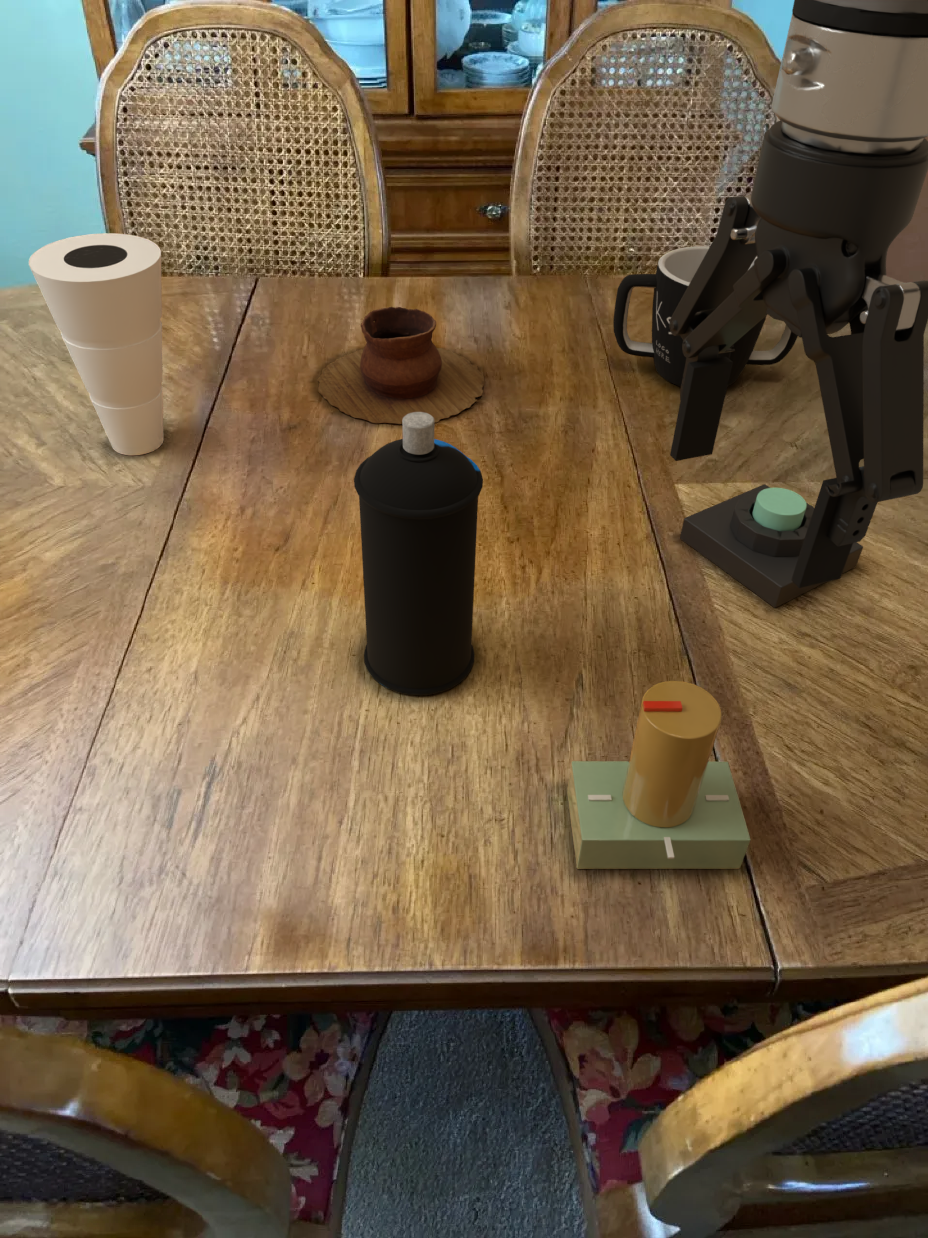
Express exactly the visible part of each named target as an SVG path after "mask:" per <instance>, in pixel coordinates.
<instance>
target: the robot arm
mask: <svg viewBox="0 0 928 1238" xmlns="http://www.w3.org/2000/svg"><path fill="white" fill-rule="evenodd" d="M791 12H792V13H791V18H790V22H789V26H788V30H787V36H786V40H785V43H784V49H783V53H782V57H781V62H780V66H779V71H778V76H777V80H776V83H775V89H774V93H773V98H772V102H771V110H772V112H773V114H774V115H775V116H776V117H777V118H778V121H776V122H774V123H773V124H772V125H771V126H770V128H768V129H767V130H766V131H765V132H764V134H763V139H762V143H761V148H760V152H759V157H758V161H757V167H756V171H755V175H754V181H753V185H752V190H751V194H747V195H746V194H745V195H738V196H729V197H728V198H726V200H725V202H724V206H723V209H722V213H721V217H720V220H719V224H718V227H717V232H716V235H715V236H714V238H713V240H712V242H711V244H710V247H709V249H708V251H707V253H706V255H705V256H704V258H703V260H702V262H701V264H700V266H699V267H698V269H697V271H696V273H695V275H694V277H693V278H692V280H691V282H690V284H689V286H688V288H687V289H686V291H685V293H684V295H683V297H682V298H681V300H680V302H679V304H678V306H677V308H676V309H675V311H674V313H673V315H672V317H671V319H670V323H669V328H670V331H671V333H672V335H674V336H676V335H680V336H681V338H682V339H683V344H682V350H683V354H684V356H685V357H686V363H685V368H684V373H683V379H682V384H681V386H680V390H679V407H678V411H677V412H678V413H677V417H676V423H675V427H674V433H673V438H672V442H671V448H670V453H669V456H670V457H671V458H672V459H673V460H674V462H679V461H683V460H689V459H693V458H700V457H705V456H711V455H713V452H714V447H715V443H716V439H717V435H718V429H719V426H720V421H721V416H722V412H723V408H724V403H725V399H726V394H727V390H728V387H729V386H728V382H729V377H730V373H731V369H732V364H733V362H732V361H731V360H730V359H729V358H727V357H722V358H718V354H719V353H725V352H732V351H735V349H730V347H733V344H734V343H735V342H736V341H738V340H739V339H740V338H741V337H742V336H743V335H745V334H746V333H747V332H748V331H749V330H750V329H751V328H753V327H754V326H755V325H756V324H757V323H758V322H759V321H761V320H762V319H763V318H764V317H765V316H766V315H767V316H769V317H771V318H772V319H773V320H777V321H781V322H784V324H785V326H786V325H787V326H788V328H789V329H790V330H791V331H792V332H793V333H794V334H796V335H797V336H798V337H797V338H801V341H802V346H803V352H804V354H805V356H806V358H807V359H809V360H811V361H812V362H813V363H814V364H815V368H816V375H817V379H818V384H819V385H818V386H819V390H820V396H821V401H822V406H823V411H824V418H825V424H826V428H827V434H828V440H829V444H830V449H831V455H832V461H833V466H834V472H835V477H832V478H829V479H823V481H822V483H821V486H820V488H819V492H818V495H817V499H816V501H815V504H814V511H813V514H812V517H811V520H810V523H809V526H808V529H807V532H806V536H805V539H804V542H803V545H802V548H801V551H800V554H799V557H798V560H797V563H796V567H795V570H794V573H793V576H792V579H791V580H792V581H793V582H794V583H795V584H796V585H797V587H798V588H802V587H806V586H811V585H815V584H819V583H823V582H825V583H828V582H831V581H836V580H840V579H841V578H842V575H843V574H842V572H843V570H844V567H845V564H846V561H847V559H848V556H849V553H850V550H851V548H852V545H853V543H855V542H857V543H859V542H861V541H862V540H863V539H864V538H865V537H866V534H867V532H868V529H869V526H870V524H871V520H872V519H873V516H874V513H875V510H876V508H877V505H878V503H881V502H886V501H890V500H895V499H899V498H900V499H901V498H904V497H909V496H913V495H917V494H919V493H920V492H921V491H922V489H923V487H924V412H925V411H924V410H925V409H924V407H925V406H924V404H925V403H924V401H925V400H924V397H925V396H924V394H925V393H924V392H925V391H924V388H925V386H924V385H925V383H924V382H925V380H924V375H925V374H924V370H925V367H924V366H925V365H924V364H925V363H924V362H925V361H924V360H925V357H924V356H925V344H924V343H925V342H924V341H925V331H926V328H927V325H928V324H927V323H928V280H923V279H922V280H916V281H909V282H904V281H901V280H899V279H895V278H894V277H891V276H888V275H887V257H888V251H889V248H890V246H891V245H892V243H893V242H894V240H895V239H896V238H897V237H898V236H899V235H900V234H901V232H903V231H904V230H905V229H906V228H907V227H908V226H909V225H910V223H911V221H912V220H913V217H914V214H915V211H916V207H917V205H918V202H919V198H920V196H921V192H922V189H923V186H924V183H925V180H926V177H927V173H928V140H927V138H928V0H794V1H793V4H792V10H791ZM756 257H757V258H756ZM755 258H756V259H755ZM754 259H755V261H754ZM753 261H754V265H753V266H752V267H751V268H750V269H749V267H750V266H751V264H752V263H753ZM748 269H749V270H748ZM699 311H700V312H699ZM767 316H766V317H767ZM848 324H849V329H850V334H845V335H844V334H843V335H840V336H830V335H832V334H835V333H838V332H839V331H841V330H843V329H844V328H845V327H846V326H847V325H848ZM861 460H863V465H862V466H860V462H861ZM823 584H824V583H823Z"/></svg>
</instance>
